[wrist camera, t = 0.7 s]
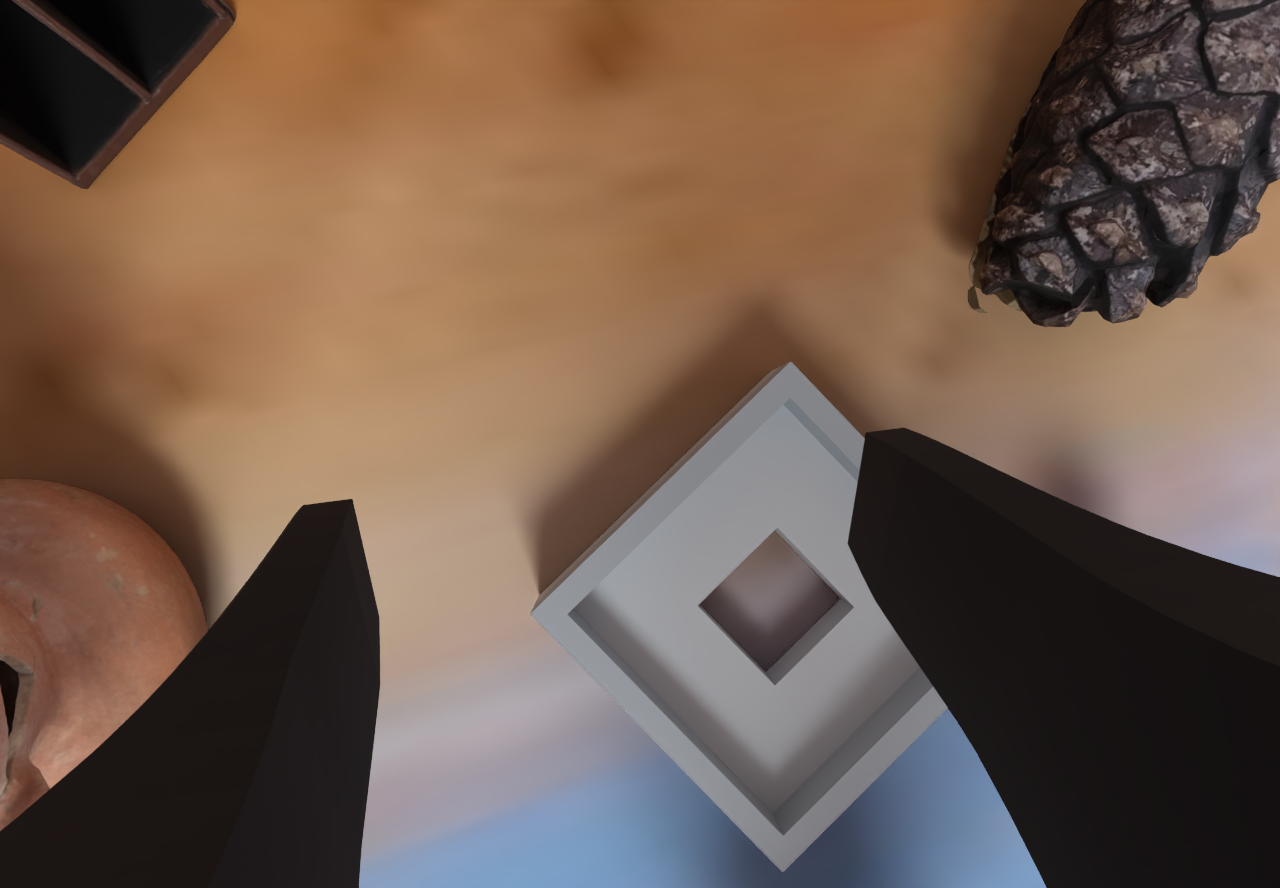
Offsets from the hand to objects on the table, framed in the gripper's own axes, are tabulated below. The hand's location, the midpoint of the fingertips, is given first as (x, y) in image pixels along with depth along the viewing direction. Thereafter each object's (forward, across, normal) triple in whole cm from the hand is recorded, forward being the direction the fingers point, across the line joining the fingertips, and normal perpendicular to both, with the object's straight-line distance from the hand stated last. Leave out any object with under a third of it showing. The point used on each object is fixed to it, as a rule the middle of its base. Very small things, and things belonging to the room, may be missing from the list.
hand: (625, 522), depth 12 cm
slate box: (+16, -10, +18) cm, 26 cm away
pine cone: (+23, -27, +2) cm, 35 cm away
